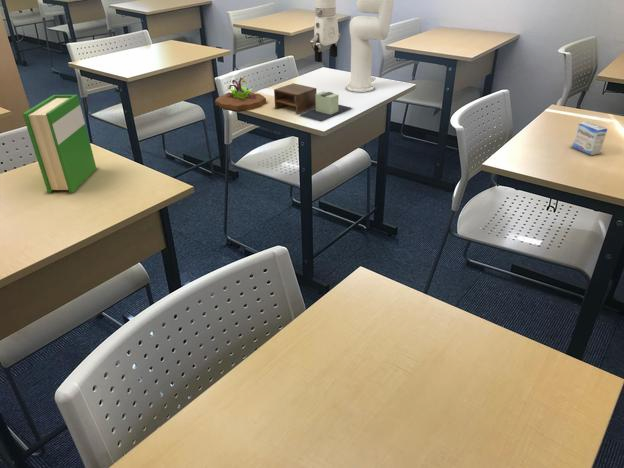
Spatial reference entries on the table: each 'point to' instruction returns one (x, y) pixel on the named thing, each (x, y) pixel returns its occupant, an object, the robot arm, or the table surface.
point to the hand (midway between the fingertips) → (326, 59)
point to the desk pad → (322, 116)
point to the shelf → (295, 97)
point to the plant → (240, 98)
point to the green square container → (326, 102)
